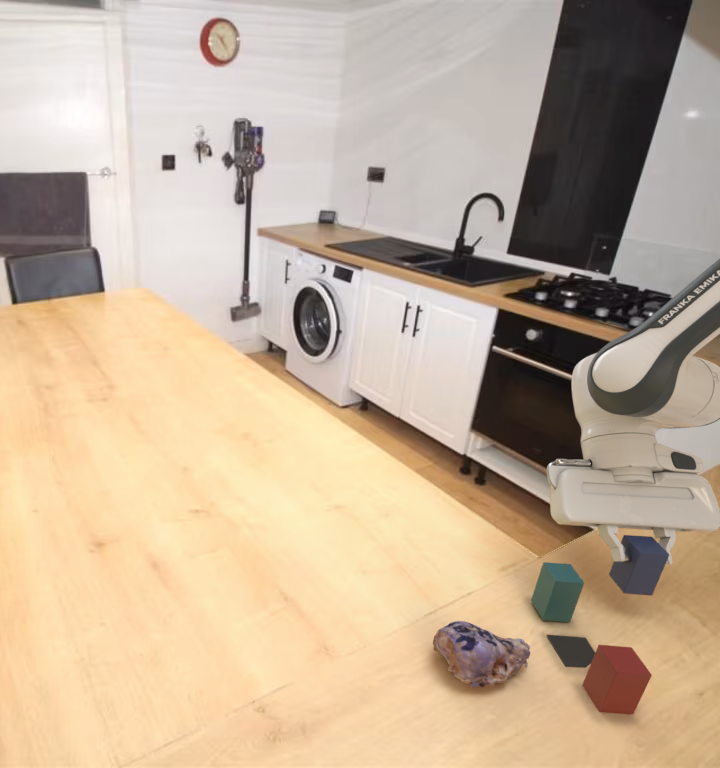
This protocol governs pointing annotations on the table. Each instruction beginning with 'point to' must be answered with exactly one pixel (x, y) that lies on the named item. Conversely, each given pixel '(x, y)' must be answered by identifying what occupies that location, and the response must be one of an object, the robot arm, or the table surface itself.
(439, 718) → the table surface
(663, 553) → the blue block
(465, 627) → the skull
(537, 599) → the block line
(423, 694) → the table surface
